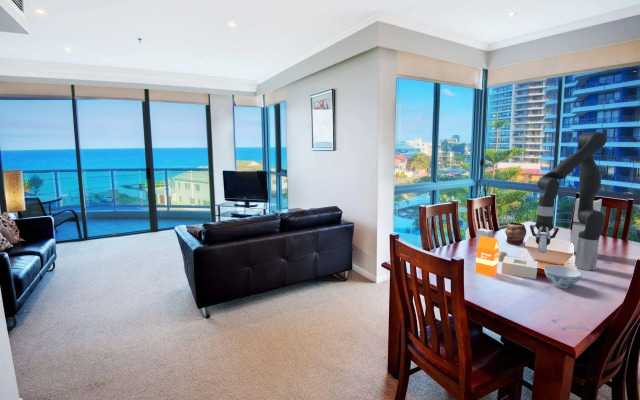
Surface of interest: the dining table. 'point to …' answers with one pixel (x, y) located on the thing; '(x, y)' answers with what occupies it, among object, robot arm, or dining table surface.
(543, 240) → the long pin
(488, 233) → the skincare box
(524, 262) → the hole block
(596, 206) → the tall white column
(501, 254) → the short pin
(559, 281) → the chinaware
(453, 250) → the dining table surface
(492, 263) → the orange juice
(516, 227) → the decorative planter
